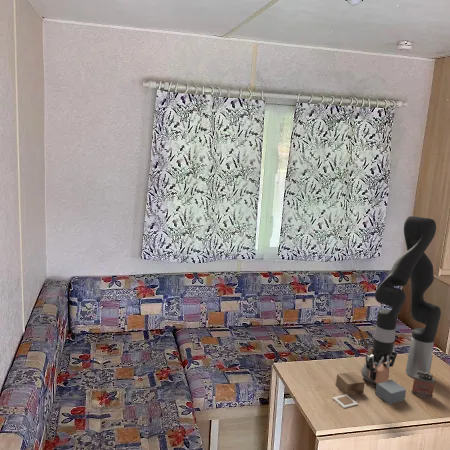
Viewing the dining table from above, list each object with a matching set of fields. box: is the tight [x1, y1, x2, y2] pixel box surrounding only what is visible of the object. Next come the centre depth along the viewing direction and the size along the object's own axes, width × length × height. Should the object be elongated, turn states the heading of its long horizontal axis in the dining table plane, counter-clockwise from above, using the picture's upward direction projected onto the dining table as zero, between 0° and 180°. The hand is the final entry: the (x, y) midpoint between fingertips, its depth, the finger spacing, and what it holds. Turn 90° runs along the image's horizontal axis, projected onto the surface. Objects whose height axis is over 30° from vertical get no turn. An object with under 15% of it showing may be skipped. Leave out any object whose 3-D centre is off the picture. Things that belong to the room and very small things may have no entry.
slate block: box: [374, 379, 407, 405], centre depth 197 cm, size 8×8×5 cm
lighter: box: [411, 371, 436, 399], centre depth 200 cm, size 8×3×10 cm, turn 71°
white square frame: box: [331, 393, 359, 409], centre depth 192 cm, size 7×7×1 cm
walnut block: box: [335, 371, 366, 396], centre depth 201 cm, size 8×8×5 cm
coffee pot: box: [356, 331, 390, 385], centre depth 213 cm, size 21×12×15 cm, turn 17°
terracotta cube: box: [369, 364, 390, 385], centre depth 187 cm, size 5×5×5 cm
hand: (378, 377), depth 188 cm, fingers closed on terracotta cube, 5 cm apart
